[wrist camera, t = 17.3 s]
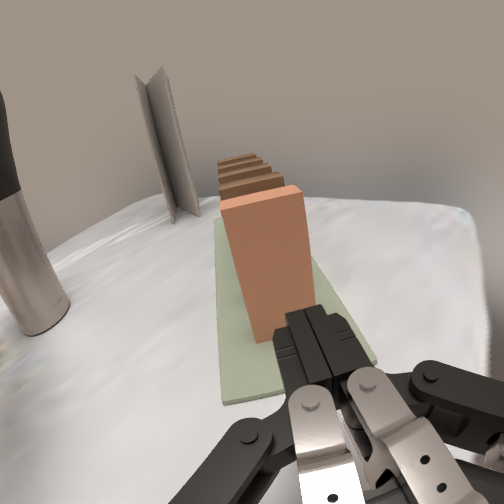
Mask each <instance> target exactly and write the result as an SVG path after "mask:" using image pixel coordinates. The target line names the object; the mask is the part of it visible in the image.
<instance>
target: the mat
mask: <svg viewBox="0 0 504 504" xmlns="http://www.w3.org/2000/svg"><path fill="white" fill-rule="evenodd" d="M214 227H215V277H216V306H217V330H218V350H219V367H220V383H221V397H222V403H223V405H228V404H234V403H239V402H245V401H250V400H254V399H259V398H264V397H268V396H273V395H277V394H281V393H285V390H284V386H283V383H282V379H281V375H280V371H279V368H278V364H277V359H276V355H275V350H274V346H273V341H272V340H270V341H266V342H262V343H258V344H256V341H255V338H254V334H253V331H252V327H251V323H250V320H249V316H248V313H247V309H246V305H245V302H244V298H243V294H242V291H241V287H240V283H239V279H238V276H237V272H236V268H235V264H234V261H233V257H232V253H231V249H230V245H229V242H228V238H227V234H226V230H225V226H224V222H223V218H218V219H214ZM311 262H312V271H313V281H314V291H315V302H316V305H318V304H321V305H322V306H323V308H324V310H325V311H326V313H327V315H329V314H333V313H338V314H339V315H341V316H342V317H344V318H345V319H346V320H347V322H348V323H349V325H350V327H351V329H352V330H353V332H354V333H355V335H356V337H357V338H358V340H359V342H360V343H361V345H362V347H363V349H364V350H365V352H366V354H367V356H368V357H369V359H370V361H371V362H372V364H373V365H374V364H377V358H376V356H375V354H374V353H373V351H372V349H371V348H370V346H369V344H368V343H367V341H366V340H365V338H364V336H363V335H362V333H361V331H360V330H359V328H358V327H357V325H356V323H355V322H354V320H353V319H352V317H351V316H350V314H349V312H348V311H347V309H346V308H345V306H344V305H343V303H342V301H341V300H340V298H339V297H338V295H337V294H336V292H335V291H334V289H333V288H332V286H331V284H330V283H329V281H328V280H327V278H326V277H325V275H324V274H323V272H322V271H321V269H320V268H319V266H318V265H317V263H316V262H315V260H314V259H313V257H312V256H311Z"/></svg>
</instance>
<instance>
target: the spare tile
mask: <svg viewBox="0 0 504 504" xmlns="http://www.w3.org/2000/svg"><path fill="white" fill-rule="evenodd" d="M220 210H221V214H222V218H223V222H224V226H225V230H226V234H227V238H228V242H229V245H230V249H231V253H232V257H233V261H234V264H235V268H236V272H237V276H238V279H239V283H240V287H241V291H242V294H243V298H244V302H245V305H246V309H247V313H248V316H249V320H250V323H251V327H252V331H253V334H254V338H255V341H256V344H258V343H262V342H266V341H270V340H272V338H273V334H274V331H275V329H278V328H282V327H286V322H285V316H284V314H285V313H288V312H292V311H296V310H300V309H303V308H307V307H311V306H314V305H316V302H315V291H314V281H313V271H312V262H311V253H310V244H309V236H308V228H307V220H306V213H305V206H304V199H303V192H302V191H301V190H300V189H298V188H297V187H296V186H295V185H289V186H284V187H280V188H275V189H270V190H266V191H261V192H257V193H252V194H248V195H244V196H239V197H235V198H231V199H227V200H223V201H220Z"/></svg>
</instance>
